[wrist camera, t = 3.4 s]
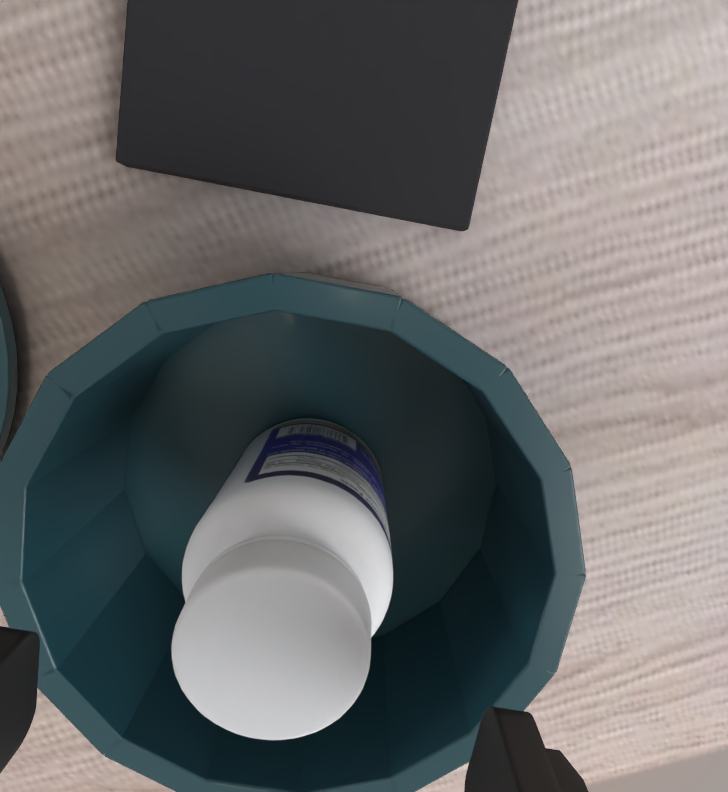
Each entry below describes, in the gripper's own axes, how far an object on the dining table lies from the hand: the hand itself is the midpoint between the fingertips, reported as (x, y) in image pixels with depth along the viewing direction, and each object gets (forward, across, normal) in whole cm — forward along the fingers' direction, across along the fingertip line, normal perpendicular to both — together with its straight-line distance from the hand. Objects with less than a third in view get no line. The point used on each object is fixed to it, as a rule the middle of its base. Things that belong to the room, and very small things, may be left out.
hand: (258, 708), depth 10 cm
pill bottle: (+10, 0, 0) cm, 10 cm away
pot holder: (+10, +2, -15) cm, 18 cm away
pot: (+10, 0, 0) cm, 10 cm away
